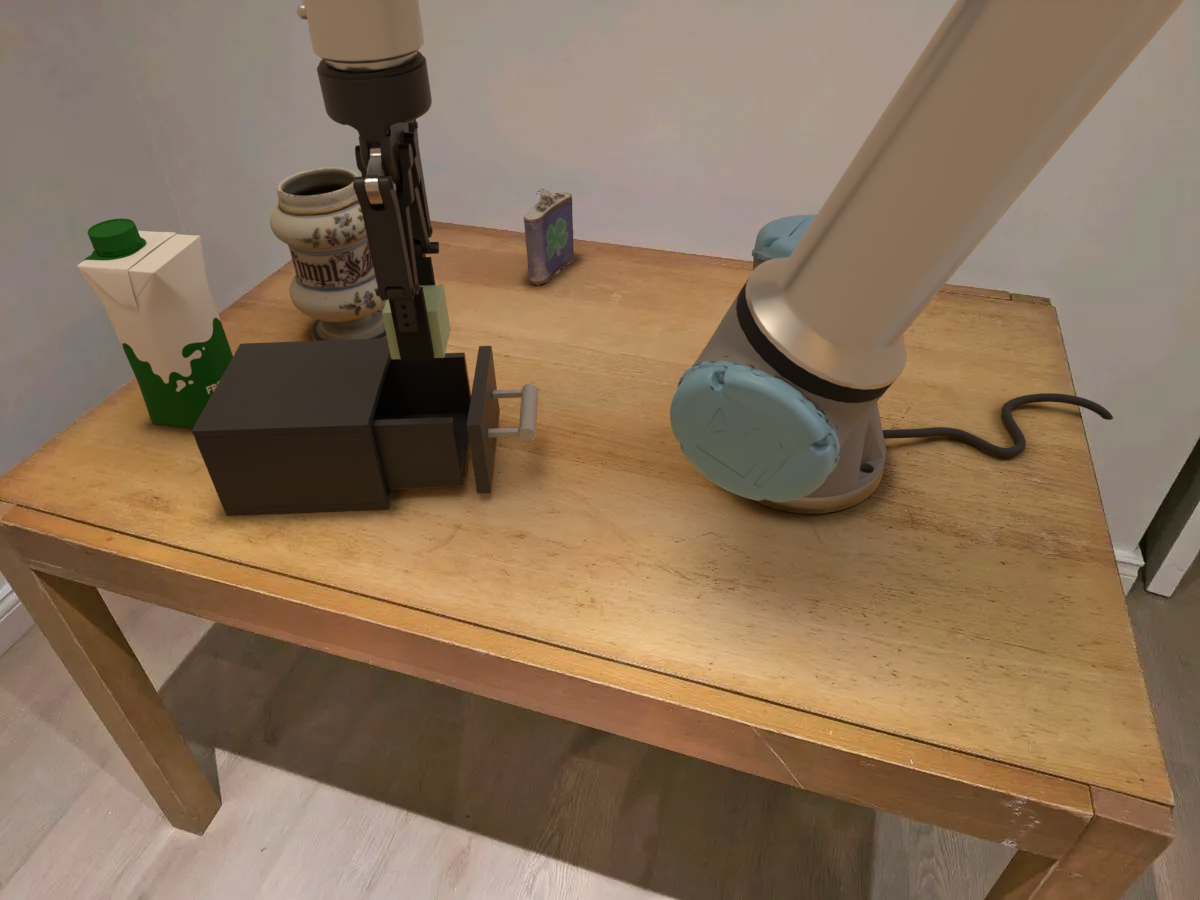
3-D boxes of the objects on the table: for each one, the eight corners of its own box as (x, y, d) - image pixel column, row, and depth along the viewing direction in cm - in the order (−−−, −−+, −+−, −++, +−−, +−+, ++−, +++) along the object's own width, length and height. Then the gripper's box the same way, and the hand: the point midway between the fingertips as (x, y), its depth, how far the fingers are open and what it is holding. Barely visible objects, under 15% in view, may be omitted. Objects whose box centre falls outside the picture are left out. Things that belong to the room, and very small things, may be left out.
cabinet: (410, 418, 88) (394, 337, 82) (388, 509, 78) (367, 424, 72) (267, 423, 88) (240, 343, 82) (225, 515, 78) (191, 431, 72)
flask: (541, 287, 109) (534, 206, 102) (521, 282, 110) (514, 201, 104) (579, 257, 115) (575, 178, 108) (560, 253, 116) (555, 175, 110)
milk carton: (187, 380, 95) (118, 206, 82) (262, 388, 93) (203, 211, 81) (138, 428, 88) (55, 247, 76) (219, 437, 87) (147, 254, 74)
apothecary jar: (341, 296, 109) (306, 154, 97) (424, 312, 105) (398, 166, 94) (280, 346, 100) (234, 195, 89) (369, 364, 96) (333, 210, 85)
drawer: (542, 409, 87) (536, 343, 83) (538, 492, 78) (531, 422, 73) (365, 416, 87) (349, 350, 83) (339, 499, 78) (319, 430, 73)
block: (450, 330, 77) (443, 284, 74) (444, 358, 73) (437, 311, 71) (399, 331, 77) (391, 286, 74) (391, 359, 73) (381, 313, 71)
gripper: (342, 25, 67) (395, 293, 82) (283, 96, 54) (358, 403, 68) (439, 21, 67) (474, 291, 82) (404, 92, 54) (454, 400, 68)
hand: (422, 341), depth 75 cm, fingers closed on block, 4 cm apart
